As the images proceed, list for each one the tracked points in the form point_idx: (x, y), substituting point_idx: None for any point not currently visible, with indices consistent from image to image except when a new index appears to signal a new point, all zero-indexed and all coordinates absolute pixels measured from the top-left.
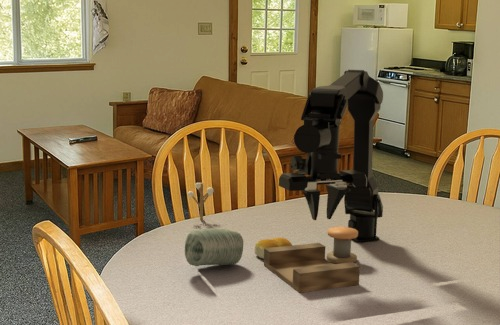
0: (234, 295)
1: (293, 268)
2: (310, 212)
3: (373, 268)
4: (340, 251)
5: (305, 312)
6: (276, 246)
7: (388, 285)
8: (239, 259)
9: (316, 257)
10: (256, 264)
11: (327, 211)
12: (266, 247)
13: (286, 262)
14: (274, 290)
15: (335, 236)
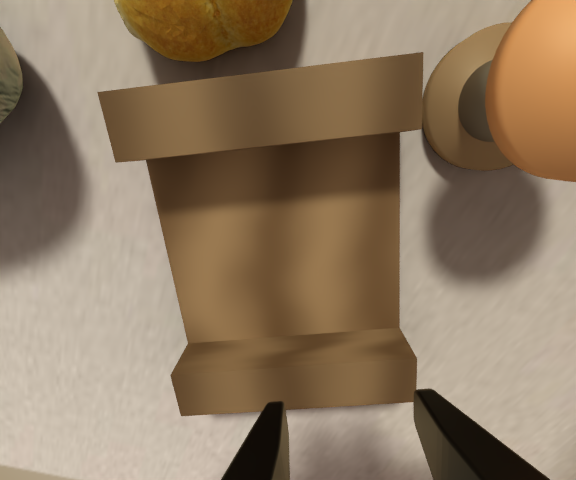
0: (21, 348)
1: (229, 218)
2: (238, 452)
3: (539, 233)
4: (487, 134)
5: (182, 468)
6: (185, 18)
7: (476, 377)
8: (10, 110)
9: (360, 136)
10: (114, 84)
11: (444, 453)
12: (132, 12)
13: (219, 152)
14: (136, 340)
15: (502, 142)
